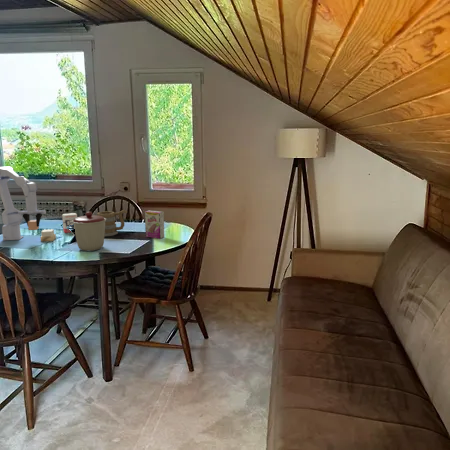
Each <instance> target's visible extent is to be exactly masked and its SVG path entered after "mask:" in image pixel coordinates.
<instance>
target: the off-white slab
mask: <svg viewBox="0 0 450 450" xmlns="http://www.w3.org/2000/svg"><path fill="white" fill-rule="evenodd" d="M40 233H41V236H42V237H48V236H53V235H54V234H55V230H54V228H53V229H42V230H41V231H40Z"/></svg>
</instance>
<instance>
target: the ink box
mask: <svg viewBox="0 0 450 450" xmlns="http://www.w3.org/2000/svg"><path fill="white" fill-rule="evenodd" d="M61 217H62V219H61V220H62V227H63V228H62V229H63V233H65V234H68V233H72V232H71V231H70V230H69V229H67V228H66V227H67V226H69V225H73V222H72V220H74V219H75V218H77V217H78V214H77V213H76V212H69V213H63V214H62V215H61Z"/></svg>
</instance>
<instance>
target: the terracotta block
mask: <svg viewBox="0 0 450 450" xmlns="http://www.w3.org/2000/svg"><path fill="white" fill-rule="evenodd" d="M27 229H28V231H37V230H38V229H40V225H39V226H38V227H37V221H36V219H30V221H28V226H27Z"/></svg>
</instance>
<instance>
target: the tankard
mask: <svg viewBox="0 0 450 450" xmlns="http://www.w3.org/2000/svg"><path fill="white" fill-rule="evenodd" d="M127 213H128V211H127V210H125V209H122V210H121V211H118V212H114V211H112V210H111V211H109V210H108V211H107V210H106V211H98V212H96V214H97V216H102V217H104V218H106V221H105V235H104V237H111V236H115V235H118V234H119V233H118V232H119V231H121V230H123V229H124V227H125V221H124V217H123V214H127ZM117 216H118V220H119V221H120V226H117V224H116V221H117V218H116V217H117Z"/></svg>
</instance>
